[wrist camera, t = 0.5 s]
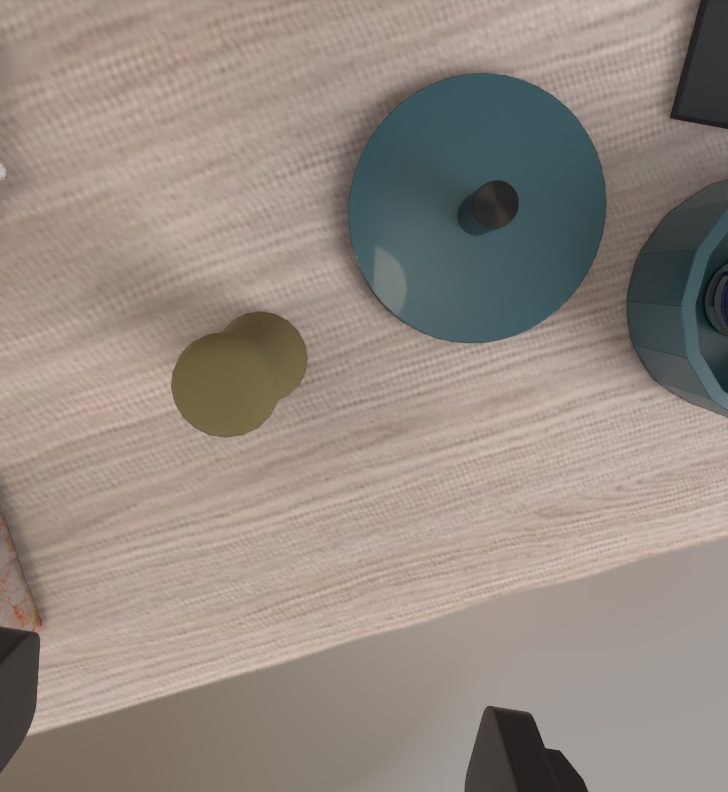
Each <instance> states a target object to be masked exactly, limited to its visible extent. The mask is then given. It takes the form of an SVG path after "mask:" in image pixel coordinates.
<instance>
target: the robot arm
mask: <svg viewBox="0 0 728 792" xmlns="http://www.w3.org/2000/svg"><path fill="white" fill-rule="evenodd" d="M39 651H40V638H39V635H38V633H36V632H32V631H26V630H20V629H13V628H7V627H1V626H0V773H1V771H2V770H3V769H4V767H5V766H6V765H7V763H8V762H9V760H10V759H11V758H12V756H13V755H14V754H15V752H16V751H17V750H18V748H19V747H20V745H21V743H22V742H23V740H24V738H25V736H26V734H27V732H28V730H29V728H30V725H31V723H32V720H33V717H34V713H35V709H36V700H37V684H38V668H39ZM465 792H588V790H587V787H586V785H585V783H584V780H583V779H582V778H581V776H580V775H579V774H578V773H577V771H576V770H575V769H574V768H573V766H572V765H571V764H570V763H569V762H568V760H567V759H566V758H565V757H564V755H563V754H562V753H561V751H559V750H553V749H547V748H545V747H544V744H543V741H542V738H541V736H540V733H539V731H538V728H537V725H536V723H535V720H534V718H533V716H532V715H531V714H530V713H528V712H524V711H518V710H511V709H505V708H499V707H493V706H488V707H486V709H485V710H484V713H483V716H482V719H481V723H480V726H479V730H478V734H477V737H476V741H475V745H474V748H473V752H472V755H471V759H470V762H469V766H468V770H467V774H466V780H465Z"/></svg>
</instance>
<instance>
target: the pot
mask: <svg viewBox="0 0 728 792" xmlns="http://www.w3.org/2000/svg"><path fill="white" fill-rule="evenodd" d="M727 263H728V180H725V181H721V182H718V183H714V184H712V185H709V186H708V187H706V188H705V189H703V190H702V191H700V192H698V193H697V194H695V195H693V196H692V197H690V198H689V199H687V200H686V201H684V202H683V203H682V204H680V205H679V206H678V207H677V208H675V209H674V210H673V211H672V212H670V213H669V214H668V215H667V217H666V218H665V219H664V220H663V221H662V222H661V223H660V224H659V226H658V227H657V228H656V229H655V231H654V232H653V233H652V234H651V236H650V238H649V239H648V241H647V243H646V244H645V246H644V247H643V249H642V251H641V253H640V255H639V258H638V260H637V262H636V264H635V267H634V271H633V274H632V277H631V281H630V286H629V291H628V301H627V316H628V326H629V331H630V336H631V339H632V342H633V345H634V348H635V350H636V352H637V354H638V356H639V358H640V360H641V362H642V363H643V365H644V366H645V367H646V369H647V370H648V372H649V373H650V374H651V375H652V377H653V378H654V380H655V381H657V382H658V383H660V384H661V385H663V386H664V387H665V388H666V389H668V390H669V391H671V392H672V393H674V394H676V395H678V396H679V397H681V398H682V399H684V400H685V401H687V402H688V403H691V404H694V405H696V406H699V407H701V408H704V409H707V410H709V411H712V412H714V413H717V414H720V415H722V416H725V417H727V418H728V336H726V335H724V334H722V333H720V332H719V331H718V330H717V329H716V328H715V327H714V326H713V325H712V324H711V322H710V321H709V319H708V316H707V314H706V310H705V295H706V291H707V288H708V285H709V283H710V281H711V279H712V278H713V276H714V275H715V274H716V272H717V271H718V270H719V269H720V268H721V267H723V266H724V265H725V264H727Z"/></svg>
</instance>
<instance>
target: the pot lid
mask: <svg viewBox="0 0 728 792" xmlns="http://www.w3.org/2000/svg"><path fill="white" fill-rule="evenodd" d="M605 211H606V193H605V182H604V177H603V172H602V167H601V164H600V161H599V158H598V155H597V152H596V149H595V147H594V145H593V143H592V141H591V139H590V137H589V135H588V134H587V132H586V131H585V129H584V128H583V126H582V125H581V123H580V122H579V120H578V119H577V118H576V117H575V116H574V115H573V114H572V112H571V111H570V110H569V109H568V108H567V107H566V106H565V105H564V104H562V103H561V102H560V101H559V100H558V99H556V98H555V97H554V96H553V95H551V94H549V93H548V92H546V91H544V90H543V89H541V88H540V87H538V86H535V85H533V84H531V83H528V82H526V81H524V80H521V79H517V78H513V77H509V76H506V75H497V74H488V73H486V74H468V75H462V76H457V77H452V78H449V79H446V80H443V81H439V82H436V83H434V84H432V85H430V86H428V87H426V88H424V89H422V90H420V91H418V92H417V93H415V94H414V95H412V96H411V97H409V98H408V99H406V100H405V101H403V102H402V103H401V104H400V105H399V106H398V107H397V108H396V109H394V110H393V111H392V112H391V113H390V114H389V115H388V116H387V117H386V119H385V120H384V121H383V122H382V123H381V124H380V126H379V127H378V128H377V130H376V131H375V133H374V134H373V136H372V137H371V139H370V140H369V142H368V143H367V145H366V147H365V149H364V151H363V153H362V155H361V157H360V160H359V163H358V166H357V168H356V171H355V174H354V178H353V183H352V187H351V192H350V202H349V229H350V235H351V241H352V247H353V250H354V253H355V257H356V260H357V263H358V265H359V267H360V270H361V272H362V274H363V276H364V278H365V280H366V282H367V283H368V285H369V286H370V288H371V290H372V291H373V293H374V294H375V295H376V296H377V298H378V299H379V300H380V301H381V303H382V304H383V305H384V306H385V307H386V308H387V309H388V310H389V311H390V312H391V313H393V314H394V315H395V316H396V317H397V318H399V319H400V320H402V321H403V322H404V323H406V324H407V325H409V326H411V327H412V328H414V329H416V330H418V331H420V332H422V333H424V334H427V335H430V336H432V337H435V338H438V339H443V340H447V341H451V342H460V343H485V342H491V341H497V340H502V339H505V338H508V337H512V336H515V335H517V334H520V333H522V332H524V331H526V330H529V329H531V328H532V327H534V326H536V325H537V324H539V323H541V322H542V321H544V320H545V319H547V318H548V317H549V316H551V315H552V314H553V313H554V312H556V311H557V310H558V309H559V308H560V307H561V306H562V305H563V304H564V303H565V302H566V301H567V300H568V299H569V298H570V297H571V296H572V294H573V293H574V292H575V291H576V289H577V288H578V287H579V285H580V284H581V282H582V281H583V279H584V278H585V276H586V274H587V273H588V271H589V269H590V267H591V265H592V263H593V260H594V258H595V256H596V254H597V251H598V247H599V244H600V241H601V238H602V233H603V228H604V222H605Z"/></svg>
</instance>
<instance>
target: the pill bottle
mask: <svg viewBox="0 0 728 792" xmlns="http://www.w3.org/2000/svg"><path fill="white" fill-rule="evenodd" d="M705 310H706V314H707V316H708V319H709V321H710V322H711V324H712V325H713V326H714V327H715V328H716V329H717V330H718V331H719V332H720V333H722V334H724V335H726V336H728V263H727V264H725V265H724V266H723V267H721V268H720V269H719V270H718V271H717V272H716V274H715V275H714V276H713V278H712V279H711V281H710V283H709V285H708V288H707V291H706V295H705Z"/></svg>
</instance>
